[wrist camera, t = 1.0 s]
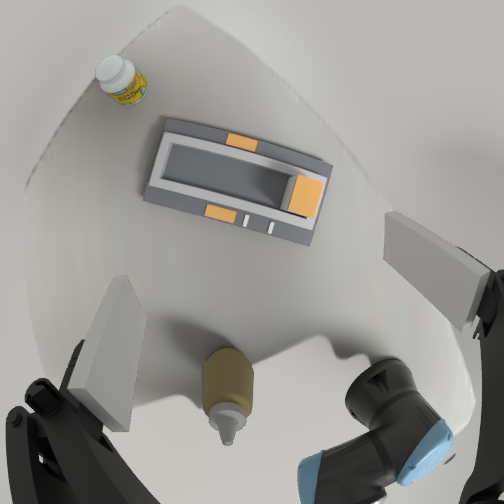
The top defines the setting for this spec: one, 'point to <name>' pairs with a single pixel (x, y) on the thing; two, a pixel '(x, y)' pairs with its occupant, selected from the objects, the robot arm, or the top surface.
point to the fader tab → (301, 195)
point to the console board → (232, 179)
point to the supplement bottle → (121, 80)
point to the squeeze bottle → (227, 391)
